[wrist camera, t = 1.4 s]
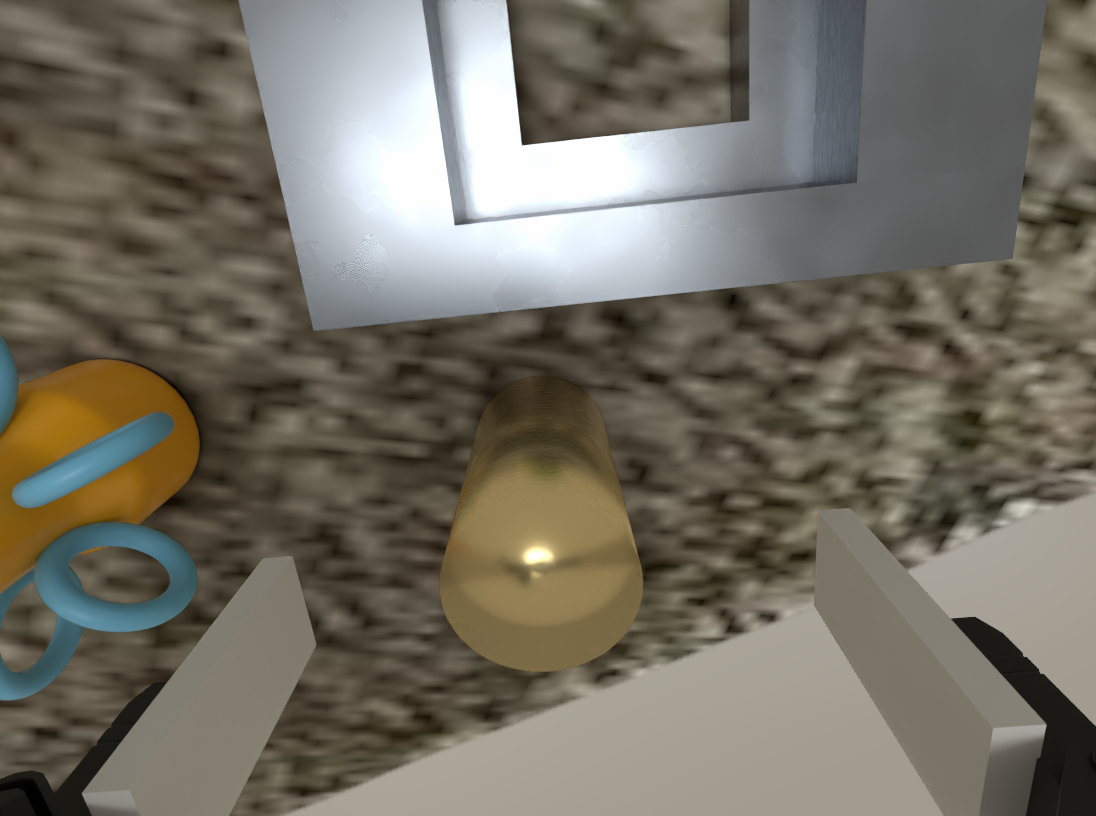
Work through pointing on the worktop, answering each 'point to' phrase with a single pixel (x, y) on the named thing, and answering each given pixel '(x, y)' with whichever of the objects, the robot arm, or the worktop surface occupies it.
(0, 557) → the cylinder
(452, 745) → the worktop surface
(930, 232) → the jig
